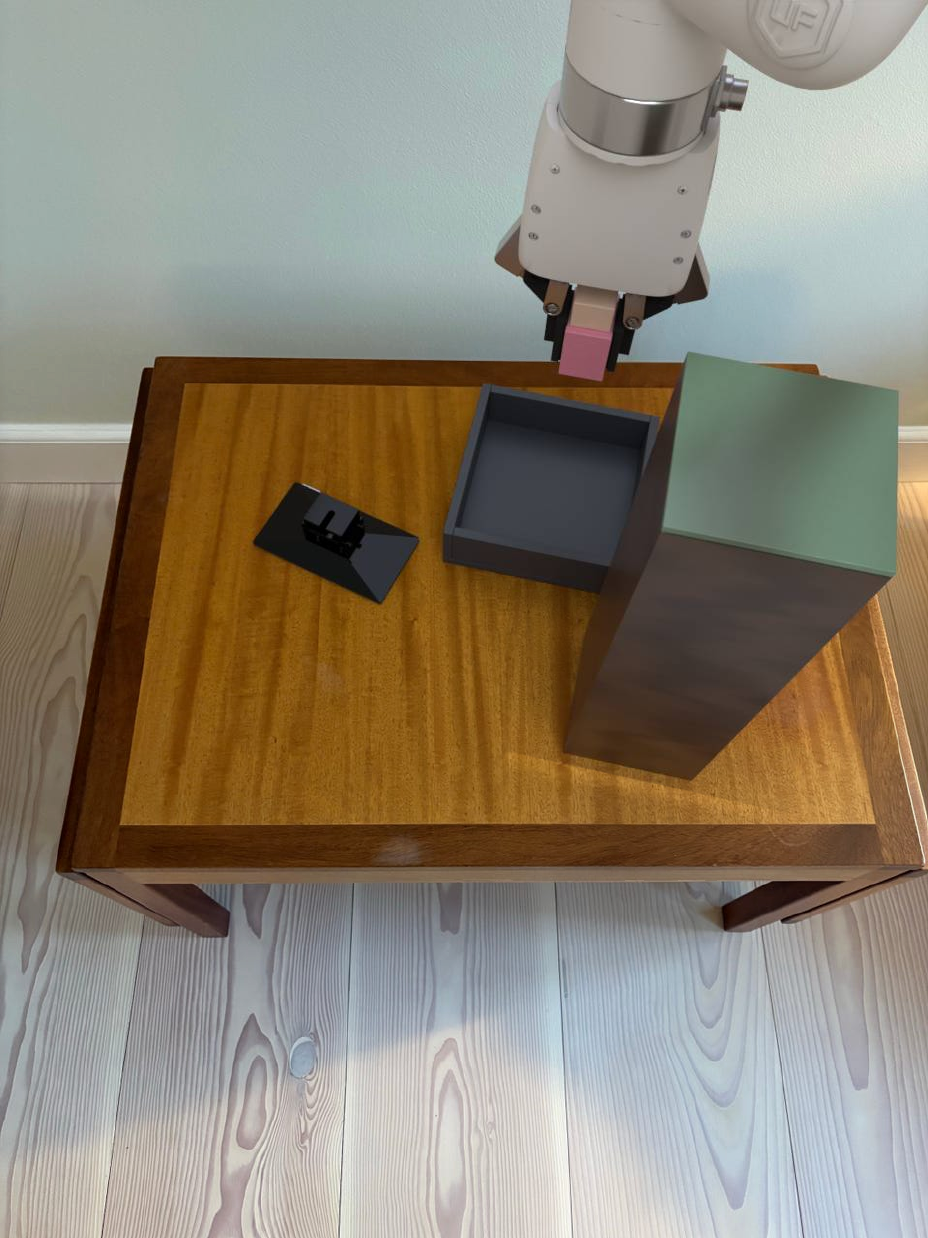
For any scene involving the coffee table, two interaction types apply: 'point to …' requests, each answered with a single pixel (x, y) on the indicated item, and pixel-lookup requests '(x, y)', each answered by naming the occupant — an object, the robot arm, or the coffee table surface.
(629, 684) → the stand
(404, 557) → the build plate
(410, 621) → the coffee table surface
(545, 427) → the basin
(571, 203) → the robot arm
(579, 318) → the pink block
